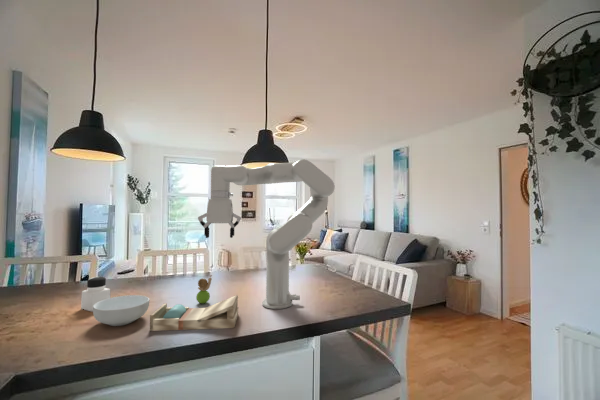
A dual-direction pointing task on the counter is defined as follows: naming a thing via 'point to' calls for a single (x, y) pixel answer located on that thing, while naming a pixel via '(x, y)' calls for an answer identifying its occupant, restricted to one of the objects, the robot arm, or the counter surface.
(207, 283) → the snail figurine
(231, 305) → the launch ramp
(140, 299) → the cereal bowl
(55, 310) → the counter surface
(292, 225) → the robot arm
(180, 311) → the roller
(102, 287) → the medicine bottle
